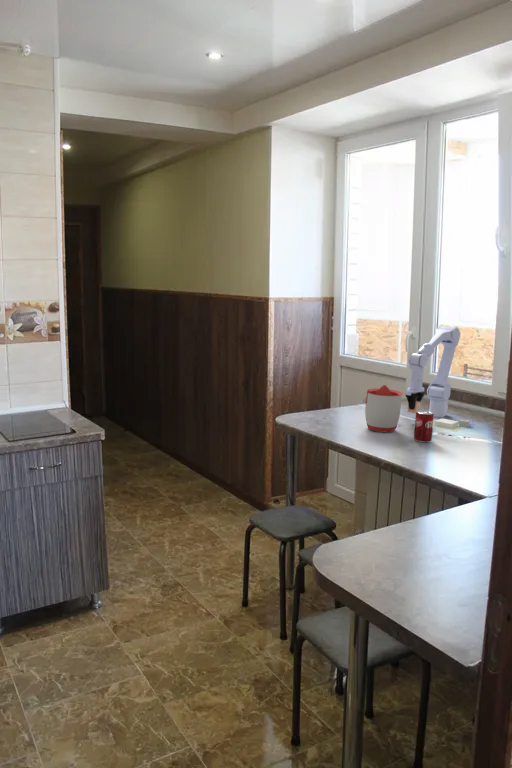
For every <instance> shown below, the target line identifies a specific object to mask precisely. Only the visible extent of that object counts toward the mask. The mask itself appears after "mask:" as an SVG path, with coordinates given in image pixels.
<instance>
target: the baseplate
mask: <svg viewBox="0 0 512 768" xmlns="http://www.w3.org/2000/svg"><path fill="white" fill-rule="evenodd" d="M436 420H437V419H434V420H433V429H434V428H435V429H440V430H444V431H449V432H455V433H457V432H459V431H461V430H465V429H468V427H462V426H459V424H458V426H456V427H454V428H445V427H440V426H435V425H434V421H436Z"/></svg>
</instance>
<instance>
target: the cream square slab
mask: <svg viewBox="0 0 512 768" xmlns="http://www.w3.org/2000/svg"><path fill="white" fill-rule="evenodd" d="M435 420H436V421H435ZM435 420H433V421H434V425H435V426H440V427H445V428H454V427H456V426H458V424H459V422H460V420H459V421H458V420H453V419H447V418H444V417H441V418H439V419H435Z"/></svg>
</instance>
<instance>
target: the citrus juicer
mask: <svg viewBox="0 0 512 768" xmlns="http://www.w3.org/2000/svg"><path fill="white" fill-rule="evenodd" d="M402 396H403V392H402V391H399V390H394V389H390V388H389V387H388V386H387V385H386V384H383V385H382V386H381V387H379V388H370V389H369V388H368V389H367V392H366V396H365V397H363V398H362V399H361V401H360V403H365V406H364V407H365V409H364V414H365V415H364V416H365V421H366V426H367V429H369V430H370V431H372V430H373V431H372V432H379V433H388V432H390V433H391V432H395V430H396V429H397V426H398V423H399V421H400V417H401V409H402V408H401V407H402Z"/></svg>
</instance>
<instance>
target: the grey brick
mask: <svg viewBox="0 0 512 768" xmlns="http://www.w3.org/2000/svg"><path fill="white" fill-rule="evenodd" d="M470 423H471V420H470V419H463V418H461V419H460V420H459V426H462V427H467V428H469V427H470Z"/></svg>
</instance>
